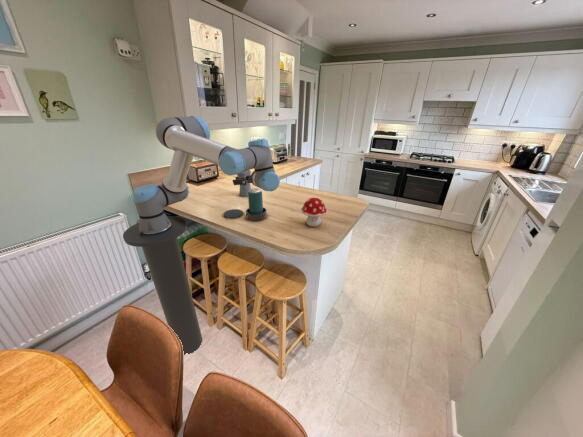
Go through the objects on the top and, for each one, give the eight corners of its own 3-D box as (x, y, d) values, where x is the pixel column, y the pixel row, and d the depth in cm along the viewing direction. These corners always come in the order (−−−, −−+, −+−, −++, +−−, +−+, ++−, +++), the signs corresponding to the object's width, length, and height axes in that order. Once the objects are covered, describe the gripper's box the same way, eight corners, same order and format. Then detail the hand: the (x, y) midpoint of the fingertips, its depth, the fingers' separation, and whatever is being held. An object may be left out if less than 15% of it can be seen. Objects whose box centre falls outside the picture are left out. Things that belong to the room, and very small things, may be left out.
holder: (256, 223, 127) (256, 216, 125) (242, 217, 133) (241, 211, 131) (271, 216, 135) (270, 209, 133) (256, 211, 141) (256, 204, 140)
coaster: (232, 220, 130) (232, 218, 129) (220, 215, 136) (219, 213, 135) (247, 213, 138) (246, 212, 137) (234, 209, 144) (234, 207, 143)
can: (256, 220, 129) (254, 193, 122) (246, 216, 133) (244, 190, 126) (266, 215, 134) (264, 189, 128) (256, 211, 139) (254, 187, 132)
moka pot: (239, 198, 160) (236, 169, 151) (237, 191, 173) (235, 164, 164) (253, 197, 162) (251, 168, 153) (250, 190, 175) (248, 163, 167)
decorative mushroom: (331, 223, 126) (333, 197, 120) (316, 233, 117) (317, 205, 110) (311, 216, 135) (312, 191, 128) (295, 224, 125) (295, 198, 119)
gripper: (235, 196, 98) (228, 189, 117) (288, 178, 105) (274, 175, 124) (229, 178, 95) (223, 175, 114) (284, 162, 102) (270, 161, 121)
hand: (249, 175), depth 119 cm, fingers open, 13 cm apart
